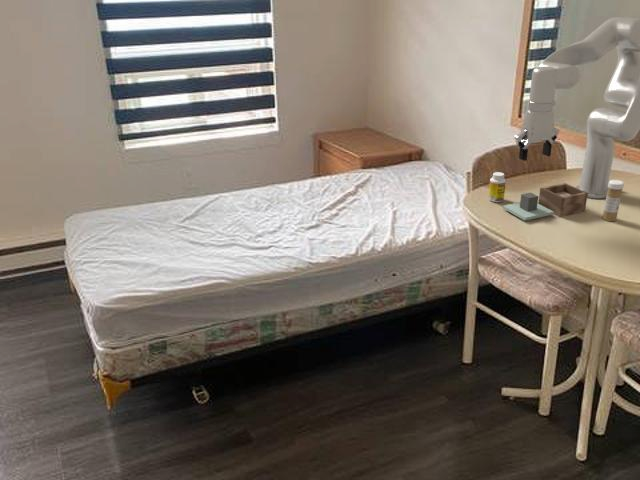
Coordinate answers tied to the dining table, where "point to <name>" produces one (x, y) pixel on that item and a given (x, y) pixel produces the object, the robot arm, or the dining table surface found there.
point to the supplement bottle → (497, 187)
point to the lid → (528, 207)
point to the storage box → (563, 199)
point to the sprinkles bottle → (612, 200)
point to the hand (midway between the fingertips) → (534, 157)
